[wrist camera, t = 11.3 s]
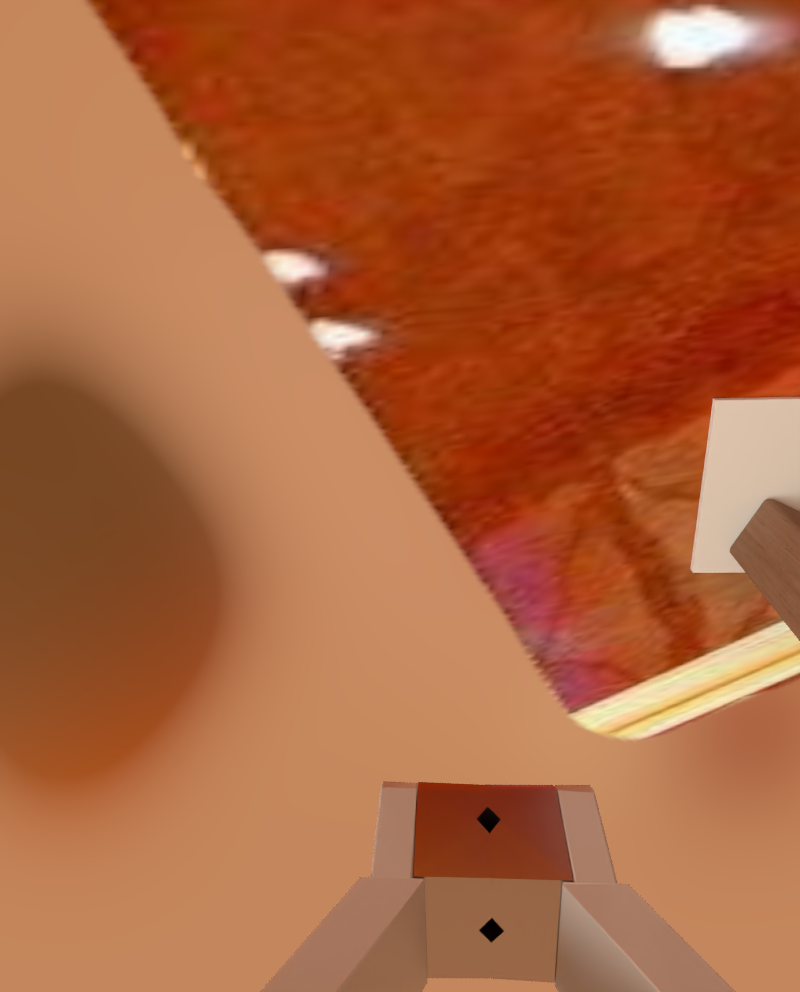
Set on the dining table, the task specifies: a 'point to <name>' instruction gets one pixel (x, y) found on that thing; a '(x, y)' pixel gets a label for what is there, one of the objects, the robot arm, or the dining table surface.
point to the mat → (744, 472)
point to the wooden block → (773, 558)
